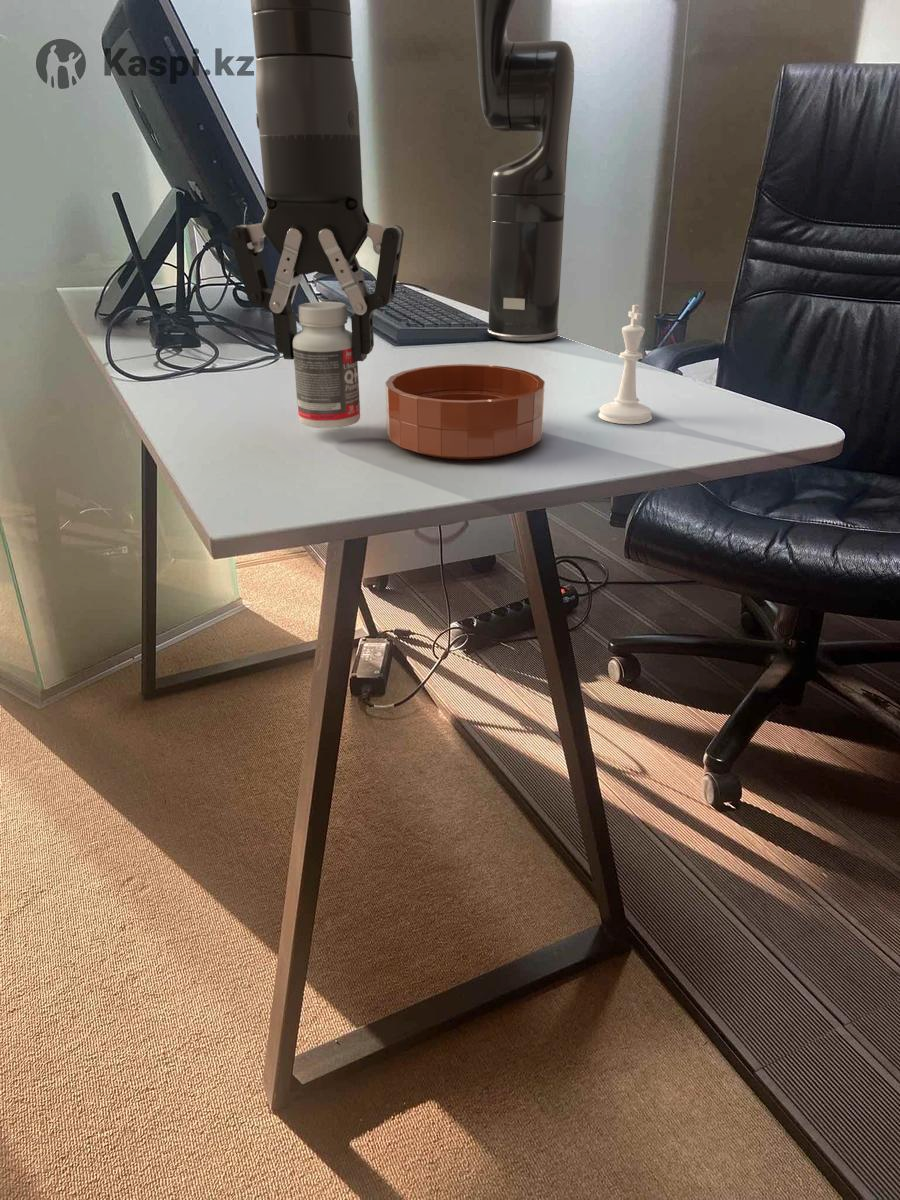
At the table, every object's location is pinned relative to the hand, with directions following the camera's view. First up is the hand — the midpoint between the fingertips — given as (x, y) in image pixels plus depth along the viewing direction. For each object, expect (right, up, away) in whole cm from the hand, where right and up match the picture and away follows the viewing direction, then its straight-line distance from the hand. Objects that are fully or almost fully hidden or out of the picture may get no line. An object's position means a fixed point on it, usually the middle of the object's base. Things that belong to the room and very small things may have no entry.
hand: (325, 357), depth 72 cm
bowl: (+12, -7, +2) cm, 14 cm away
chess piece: (+27, -4, +8) cm, 28 cm away
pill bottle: (0, -5, +3) cm, 6 cm away
